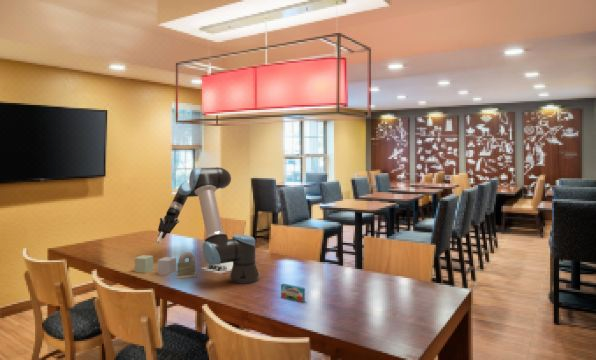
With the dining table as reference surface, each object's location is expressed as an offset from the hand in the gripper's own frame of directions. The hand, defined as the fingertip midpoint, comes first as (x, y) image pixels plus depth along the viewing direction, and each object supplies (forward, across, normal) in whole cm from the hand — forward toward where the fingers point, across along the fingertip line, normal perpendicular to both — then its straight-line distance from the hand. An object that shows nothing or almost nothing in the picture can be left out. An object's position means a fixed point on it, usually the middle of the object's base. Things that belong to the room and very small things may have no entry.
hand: (158, 242), depth 243 cm
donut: (+12, -22, -7) cm, 26 cm away
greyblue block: (+19, -15, 0) cm, 24 cm away
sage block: (+19, 0, 0) cm, 19 cm away
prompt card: (+21, -29, +2) cm, 36 cm away
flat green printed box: (+32, -94, +13) cm, 100 cm away
